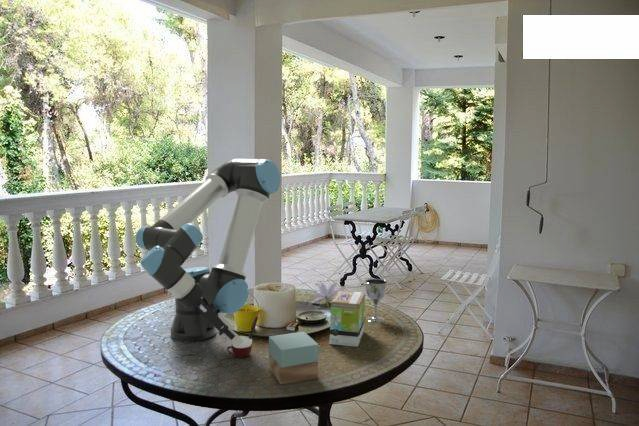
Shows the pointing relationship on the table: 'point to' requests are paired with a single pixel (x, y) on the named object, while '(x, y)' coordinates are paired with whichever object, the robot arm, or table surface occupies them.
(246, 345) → the cocoa
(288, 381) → the tower base
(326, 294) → the water lily
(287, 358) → the tower top
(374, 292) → the wine glass
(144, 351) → the table surface
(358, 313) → the tea box
